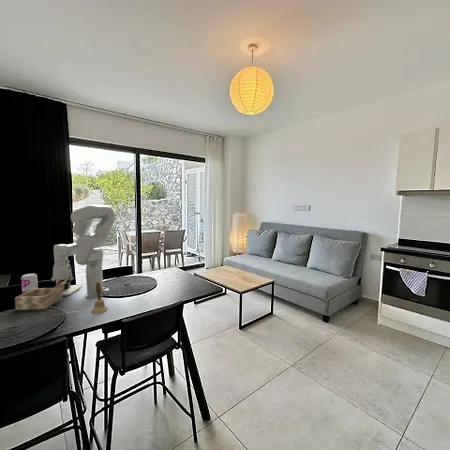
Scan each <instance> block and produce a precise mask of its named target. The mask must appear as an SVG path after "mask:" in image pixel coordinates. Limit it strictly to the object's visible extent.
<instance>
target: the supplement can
mask: <svg viewBox="0 0 450 450" xmlns="http://www.w3.org/2000/svg"><path fill="white" fill-rule="evenodd" d="M20 279H21V281H20V282H21V293H22V294H24V293H26V292H29V291H31V290H33V289H37V288H39V285H38V283H39V282H38V275H37V273H26V274H23V275H22V276H21V278H20ZM22 294H21V295H22Z"/></svg>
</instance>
